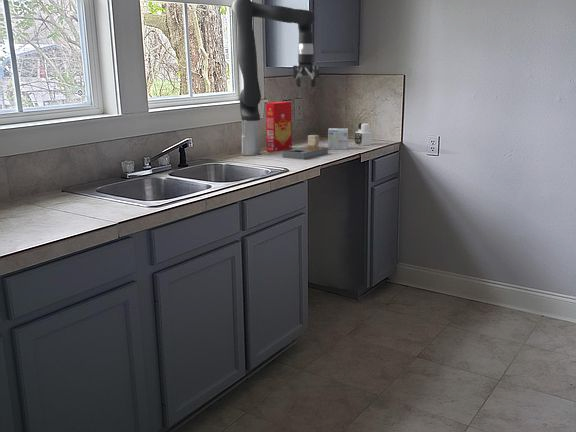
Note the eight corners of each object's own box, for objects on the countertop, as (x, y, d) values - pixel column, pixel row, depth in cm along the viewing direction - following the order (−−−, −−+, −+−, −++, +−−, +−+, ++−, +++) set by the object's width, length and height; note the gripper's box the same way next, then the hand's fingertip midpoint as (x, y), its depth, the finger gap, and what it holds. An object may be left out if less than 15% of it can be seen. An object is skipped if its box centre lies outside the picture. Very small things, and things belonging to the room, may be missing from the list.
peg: (314, 154, 291) (314, 136, 288) (307, 153, 293) (307, 135, 291) (318, 153, 294) (318, 135, 292) (312, 152, 296) (312, 134, 294)
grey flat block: (303, 161, 276) (303, 152, 275) (282, 159, 283) (282, 150, 281) (327, 155, 293) (328, 146, 292) (307, 153, 300) (307, 145, 299)
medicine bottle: (354, 144, 332) (355, 122, 329) (365, 143, 335) (366, 122, 332) (361, 145, 326) (361, 124, 323) (372, 145, 329) (372, 123, 325)
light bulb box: (347, 147, 318) (348, 128, 316) (347, 149, 312) (348, 129, 309) (328, 147, 319) (328, 127, 317) (327, 149, 313) (328, 129, 310)
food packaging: (274, 152, 303) (274, 103, 296) (266, 151, 306) (265, 103, 300) (291, 149, 314) (291, 101, 308) (283, 148, 317) (283, 101, 311)
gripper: (322, 53, 289) (321, 87, 293) (298, 53, 297) (298, 86, 301) (314, 53, 283) (313, 87, 287) (289, 53, 291) (289, 87, 295)
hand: (305, 86), depth 294 cm, fingers open, 8 cm apart
